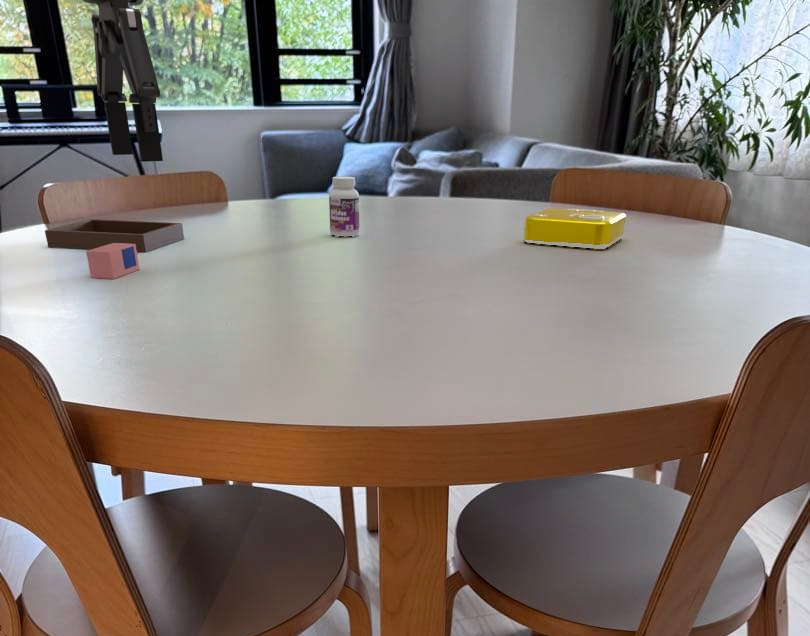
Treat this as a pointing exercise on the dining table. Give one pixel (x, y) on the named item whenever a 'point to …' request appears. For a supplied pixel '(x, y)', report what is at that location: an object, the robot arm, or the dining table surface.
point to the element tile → (574, 226)
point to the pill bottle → (344, 207)
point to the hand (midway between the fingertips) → (136, 158)
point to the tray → (114, 234)
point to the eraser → (112, 260)
